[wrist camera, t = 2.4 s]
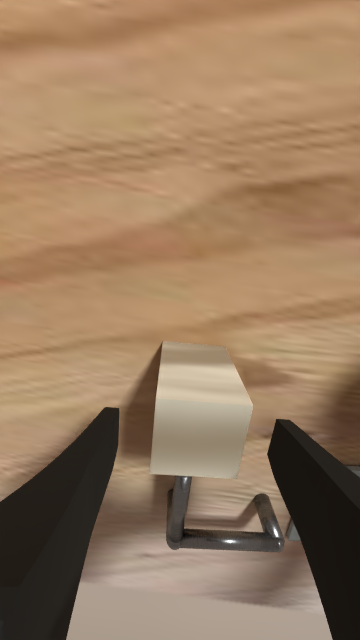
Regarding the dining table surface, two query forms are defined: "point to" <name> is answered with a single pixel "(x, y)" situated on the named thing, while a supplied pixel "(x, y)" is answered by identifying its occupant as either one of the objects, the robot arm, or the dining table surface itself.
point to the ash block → (199, 413)
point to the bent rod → (219, 538)
